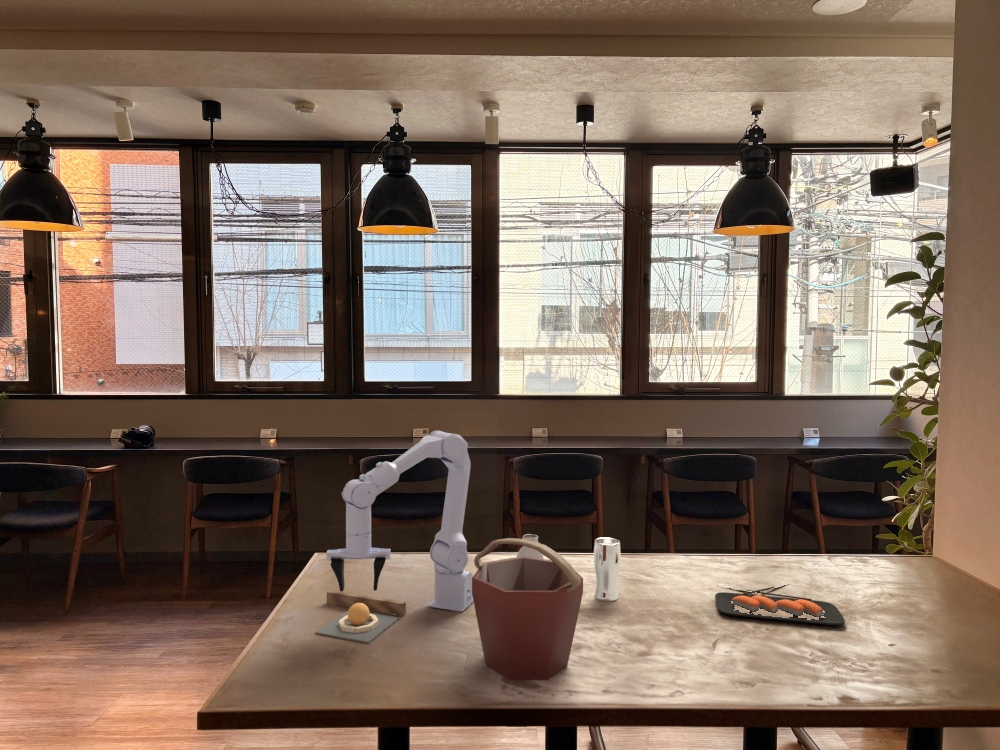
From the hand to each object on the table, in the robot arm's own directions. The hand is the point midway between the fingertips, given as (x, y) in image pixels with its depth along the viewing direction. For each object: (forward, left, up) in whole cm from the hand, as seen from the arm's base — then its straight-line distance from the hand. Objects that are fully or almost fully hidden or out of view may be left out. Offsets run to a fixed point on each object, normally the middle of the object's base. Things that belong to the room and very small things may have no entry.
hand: (358, 589), depth 153 cm
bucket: (-42, +2, -9) cm, 43 cm away
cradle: (0, 0, -9) cm, 9 cm away
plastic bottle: (-36, -19, -9) cm, 42 cm away
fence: (+4, -9, -9) cm, 13 cm away
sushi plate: (-92, -52, -9) cm, 106 cm away
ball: (0, 0, -6) cm, 6 cm away
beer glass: (-51, -39, -9) cm, 65 cm away
